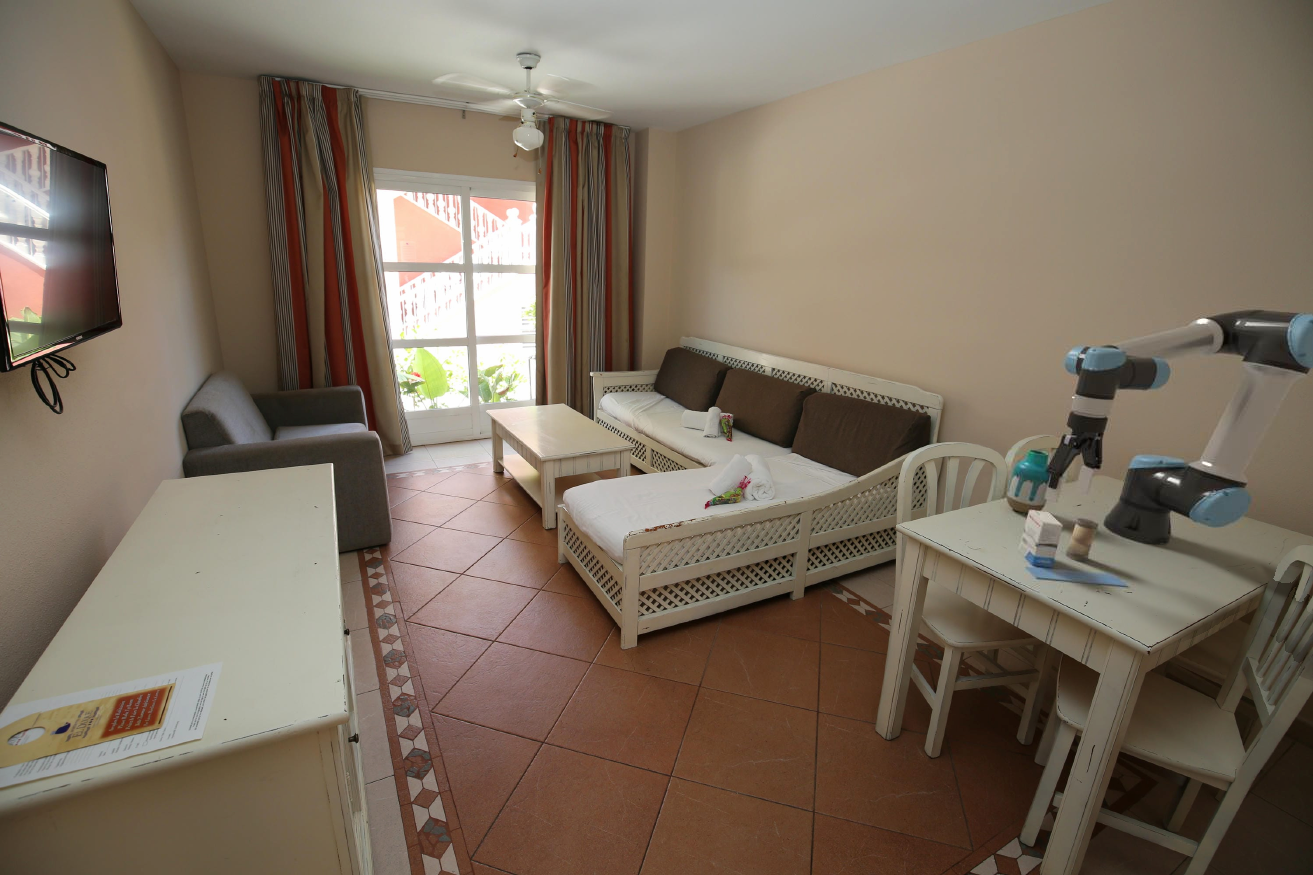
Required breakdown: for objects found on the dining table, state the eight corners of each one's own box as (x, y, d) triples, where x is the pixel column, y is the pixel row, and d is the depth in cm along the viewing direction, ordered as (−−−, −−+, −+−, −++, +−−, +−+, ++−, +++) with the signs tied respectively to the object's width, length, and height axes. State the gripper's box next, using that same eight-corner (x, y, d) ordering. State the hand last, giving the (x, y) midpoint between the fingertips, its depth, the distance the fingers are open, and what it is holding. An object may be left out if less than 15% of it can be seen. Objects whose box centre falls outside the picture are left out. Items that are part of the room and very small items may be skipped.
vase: (1005, 501, 185) (1019, 444, 180) (1044, 510, 180) (1060, 452, 174) (1001, 511, 177) (1016, 452, 171) (1041, 521, 171) (1059, 460, 166)
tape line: (1113, 575, 143) (1114, 574, 142) (1127, 586, 138) (1128, 585, 138) (1025, 567, 144) (1025, 566, 144) (1036, 578, 139) (1036, 577, 139)
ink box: (1052, 568, 144) (1065, 525, 141) (1030, 565, 145) (1043, 522, 142) (1037, 552, 152) (1049, 511, 149) (1017, 549, 153) (1028, 508, 150)
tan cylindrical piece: (1080, 553, 153) (1091, 519, 150) (1090, 562, 149) (1102, 527, 146) (1061, 551, 153) (1072, 517, 150) (1071, 560, 149) (1083, 525, 146)
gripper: (1099, 405, 147) (1077, 483, 153) (1042, 414, 135) (1021, 498, 142) (1134, 412, 140) (1109, 493, 147) (1077, 422, 129) (1053, 510, 135)
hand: (1066, 496), depth 144 cm, fingers open, 13 cm apart
